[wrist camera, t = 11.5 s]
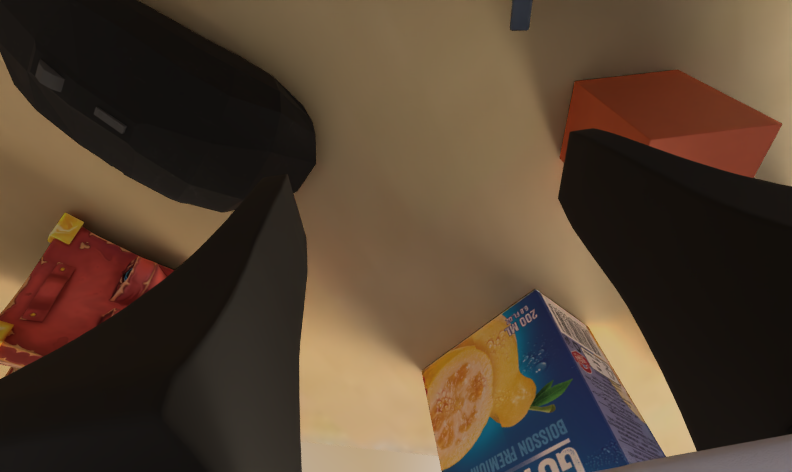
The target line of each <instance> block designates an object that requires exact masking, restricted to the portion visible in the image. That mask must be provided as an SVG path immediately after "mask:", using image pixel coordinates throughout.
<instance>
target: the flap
mask: <svg viewBox="0 0 792 472" xmlns="http://www.w3.org/2000/svg"><path fill="white" fill-rule="evenodd" d="M532 2H533V0H512V8H511V20H510V30H512V31H527V30H529V27H530V18H531V10H532Z"/></svg>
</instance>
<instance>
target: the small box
mask: <svg viewBox="0 0 792 472" xmlns="http://www.w3.org/2000/svg"><path fill="white" fill-rule="evenodd" d="M781 126H782V123H780V122H778V121H776V120H774V119H772V118H770V117H768V116H766V115H765V114H763V113H761V112H759V111H757V110H755V109H753V108H751V107H749V106H747V105H745V104H743V103H741V102H739V101H737V100H736V99H734V98H732V97H730V96H728V95H726V94H724V93H722V92H720V91H718V90H716V89H714V88H712V87H710V86H708V85H706V84H705V83H703V82H701V81H699V80H697V79H695V78H693V77H691V76H689V75H687V74H685V73H683V72H681V71H679V70H670V71H661V72H652V73H643V74H635V75H626V76H617V77H608V78H599V79H590V80H581V81H575V83H574V88H573V93H572V98H571V103H570V108H569V113H568V118H567V123H566V128H565V133H564V138H563V143H562V148H561V153H560V159H561V160H562V161H563V162H565V156H566V150H567V144H568V139H569V133H570V132H571V131H577V130H584V129H591V128H595V129H600V130H604V131H607V132H610V133H614V134H617V135H620V136H623V137H626V138H629V139H631V140H634V141H637V142H640V143H643V144H645V145H648V146H651V147H654V148H657V149H659V150H662V151H665V152H668V153H671V154H674V155H676V156H679V157H682V158H685V159H688V160H691V161H694V162H698V163H701V164H704V165H707V166H711V167H714V168H717V169H721V170H724V171H728V172H731V173H735V174H739V175H742V176H747V177H751V178H754V176H755V174H756V172H757V170H758V168H759V167H760V165H761V163H762V161H763V159H764V157H765V155H766V154H767V152H768V150H769V148H770V146H771V144H772V142H773V141H774V139H775V137H776V135H777V133H778V131H779V129H780V128H781Z"/></svg>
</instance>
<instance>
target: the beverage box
mask: <svg viewBox="0 0 792 472" xmlns="http://www.w3.org/2000/svg"><path fill="white" fill-rule="evenodd" d="M422 375H423V380H424V385H425V390H426V395H427V400H428V405H429V410H430V415H431V420H432V425H433V430H434V435H435V440H436V445H437V450H438V455H439V460H440V465H441V470H442V472H595V471H600V470H606V469H611V468H616V467H621V466H625V465H629V464H632V463H637V462H642V461H648V460H653V459H658V458H664V457H666V456H665V455H664V453H663V451H662V450H661V448H660V446H659V445H658V443H657V441H656V440H655V438H654V436H653V434H652V433H651V431H650V429H649V428H648V426H647V424H646V423H645V421H644V419H643V418H642V416H641V414H640V413H639V411H638V409H637V408H636V406H635V404H634V403H633V401H632V399H631V398H630V396H629V394H628V393H627V391H626V389H625V388H624V386H623V384H622V383H621V381H620V379H619V378H618V376H617V374H616V373H615V371H614V369H613V368H612V366H611V364H610V363H609V361H608V359H607V358H606V356H605V354H604V353H603V351H602V349H601V348H600V346H599V344H598V343H597V341H596V339H595V338H594V336H593V334H592V333H591V331H590V329H589V328H588V326H586V325H585V324H583V323H582V322H581V321H579V320H578V319H576V318H575V317H574V316H572V315H571V314H570V313H568V312H567V311H565V310H564V309H563V308H561V307H560V306H558V305H557V304H556V303H554V302H553V301H551V300H550V299H549V298H547V297H546V296H544V295H543V294H542V293H540V292H539V291H538V290H536V289H535V290H533V291H532V292H530V293H529V294H528V295H526V296H525V297H524V298H522V299H521V300H519V301H518V302H517V303H515V304H514V305H512V306H511V307H510V308H508V309H507V310H506V311H504V312H503V313H501V314H500V315H499V316H497V317H496V318H494V319H493V320H492V321H490V322H489V323H487V324H486V325H485V326H483V327H482V328H481V329H479V330H478V331H476V332H475V333H474V334H472V335H471V336H469V337H468V338H467V339H465V340H464V341H463V342H461V343H460V344H458V345H457V346H456V347H454V348H453V349H451V350H450V351H449V352H447V353H446V354H444V355H443V356H442V357H440V358H439V359H438V360H436V361H435V362H433V363H432V364H431V365H429V366H428V367H426V368H425V369H424V370H422Z"/></svg>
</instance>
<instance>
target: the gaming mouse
mask: <svg viewBox="0 0 792 472" xmlns="http://www.w3.org/2000/svg"><path fill="white" fill-rule="evenodd" d="M0 53H1V55H2V57H3V60H4V62H5V64H6V67H7V69H8V71H9V74H10V76H11V78H12V81H13V83H14V85H15V86H16V87H17V88H18V90H19V91H20V92H21V93H22V94H23V95H24V97H25V98H26V99H27V100H28V101H29V102H30V104H31V105H32V106H33V107H34V108H35V109H36V111H38V112H39V113H40V114H42V115H43V116H44V117H45V118H47V119H48V120H49V121H50V122H52V123H53V124H54V125H55V126H57V127H58V128H59V129H60V130H62V131H63V132H64V133H66V134H67V135H68V136H69V137H71V138H72V139H73V140H74V141H76V142H77V143H78V144H79V145H81V146H82V147H84V148H86V149H87V150H89V151H90V152H92V153H93V154H95V155H96V156H98V157H99V158H101V159H102V160H104V161H105V162H106V163H108V164H109V165H111V166H113V167H115V168H116V169H118V170H119V171H121V172H122V173H124V175H126V176H128V177H130V178H132V179H134V180H135V181H137V182H139V183H141V184H143V185H145V186H147V187H149V188H151V189H152V190H154V191H156V192H158V193H160V194H162V195H164V196H166V197H168V198H170V199H172V200H175V201H178V202H180V203H186V204H187V203H188V204H191V205H195V206H199V207H203V208H207V209H210V210H214V211H218V212H228V211H233V210H236V209H237V207H238V206H239V205H240V204H241V203H242V202H243V200H244V199H245V198H246V197H247V196H248V194H249V193H250V192H251V191H252V189H253V188H254V187H255V186H256V185H257V184H258V182H259V181H260V180H261V179H262V178H263V177H270V176H277V175H284V174H288V177H289V181H290V184H291V187H292V191H293V193H295V192H297V191H298V189H299V188H300V187H301V185H302V184H303V182H304V181H305V179H306V178H307V176H308V175H309V173H310V172H311V171H312V169H313V168H314V166H315V165H316V139H315V131H314V127H313V122H312V120H311V118H310V117H309V115H308V113H307V112H306V110H305V108H304V106H303V105H302V104H301V103H300V102H299V101H298V100H297V99H296V98H295V97H294V96H293V95H292V94H291V93H290V92H289V91H288V90H287V89H285V88H284V87H283V86H282V85H281V84H280V83H279V82H278V81H277V80H276V79H275V78H274V77H273V76H271V75H270V74H268V73H266V72H265V71H263V70H261V69H260V68H258V67H256V66H255V65H253V64H251V63H250V62H248V61H246V60H245V59H243V58H241V57H240V56H238V55H236V54H234V53H232V52H230V51H228V50H226V49H224V48H222V47H221V46H219V45H217V44H215V43H213V42H211V41H209V40H207V39H205V38H203V37H201V36H200V35H198V34H196V33H194V32H193V31H191V30H189V29H187V28H186V27H184V26H182V25H180V24H179V23H177V22H175V21H173V20H172V19H170V18H168V17H166V16H165V15H163V14H161V13H159V12H158V11H156V10H154V9H152V8H150V7H149V6H147V5H145V4H143V3H141V2H139V1H137V0H0Z"/></svg>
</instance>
